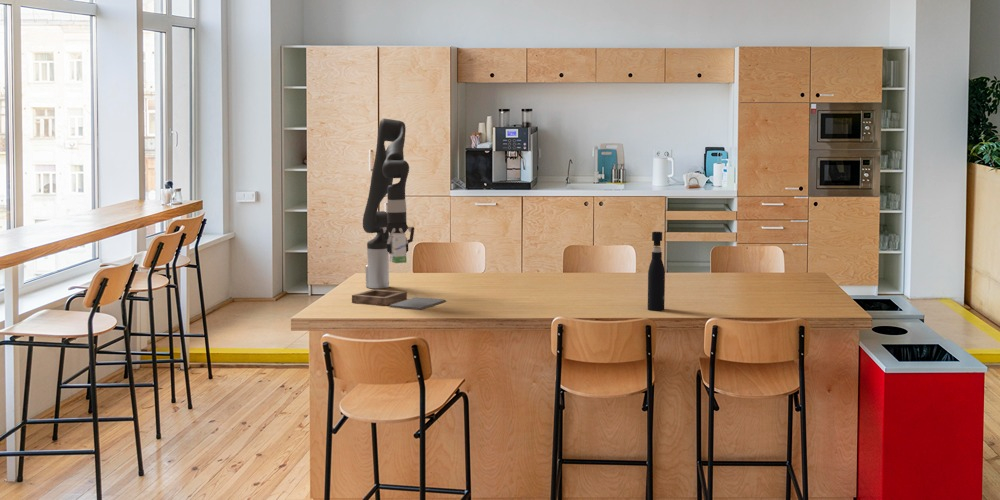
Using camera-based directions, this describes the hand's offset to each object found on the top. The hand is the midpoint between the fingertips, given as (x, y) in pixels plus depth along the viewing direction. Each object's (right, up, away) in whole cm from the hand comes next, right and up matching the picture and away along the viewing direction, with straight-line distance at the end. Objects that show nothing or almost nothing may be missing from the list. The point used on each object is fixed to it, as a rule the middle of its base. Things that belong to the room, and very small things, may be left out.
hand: (397, 253), depth 414 cm
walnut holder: (-8, -19, +8) cm, 22 cm away
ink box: (0, -4, 0) cm, 4 cm away
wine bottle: (+101, -22, -13) cm, 104 cm away
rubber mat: (+8, -20, 0) cm, 22 cm away
